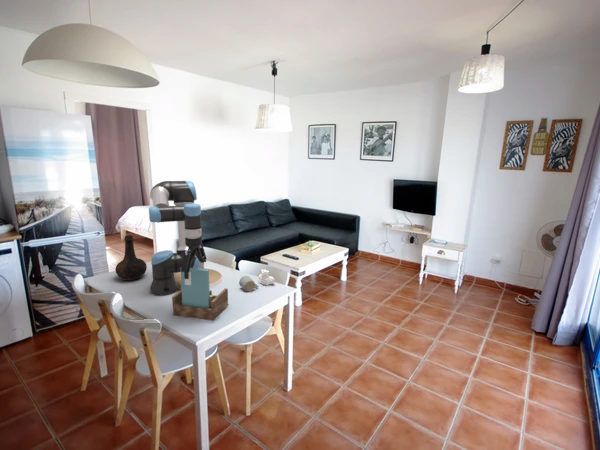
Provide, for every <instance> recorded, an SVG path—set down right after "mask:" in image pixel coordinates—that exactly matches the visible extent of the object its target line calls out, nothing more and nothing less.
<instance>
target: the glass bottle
mask: <svg viewBox="0 0 600 450" xmlns="http://www.w3.org/2000/svg"><path fill="white" fill-rule="evenodd" d="M123 240H124V256H123V259H122V260H120V261H119V262H118V263H117V264H116V266H115V273H116V276H117V277H119V279H121V280H123V281H135V280H138V279H140V278H141V277H143V276H144V275H145V273H146V271H147V266H148V265H147V262H145V260H144V259H142V258H138V257H137V256H136V252H135V247H134V246H135V245H134V240H135V238H134V237H133V235H132V234H131V235H125V236H124V238H123Z"/></svg>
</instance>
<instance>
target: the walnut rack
mask: <svg viewBox="0 0 600 450" xmlns="http://www.w3.org/2000/svg"><path fill="white" fill-rule="evenodd" d="M228 289H229V288H224V289H223V290H221V292H220V293H219V294H217V295H213V294H212V295H213V300H212V301H211V305H210V309H209V308H201V307H193V306H185V305H182V289H181V290H180V291H177V293H174V295H172V297H171V301H172V302H171V303H172V316H175V317H180V318H181V317H183V318H190V319H198V320H204V321H213V322H214V321H216V319H217V318H218V317H219V316H220V315H221V313H223V312H224V310H226V308H227V307H228V306H229V305H230V304H229V290H228Z"/></svg>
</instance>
